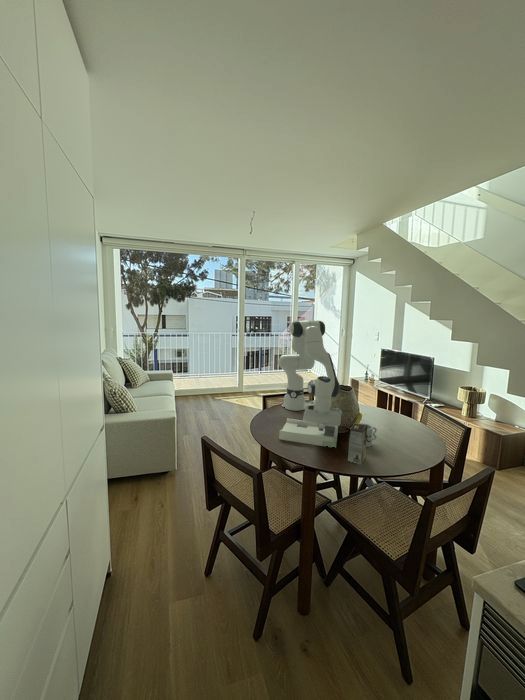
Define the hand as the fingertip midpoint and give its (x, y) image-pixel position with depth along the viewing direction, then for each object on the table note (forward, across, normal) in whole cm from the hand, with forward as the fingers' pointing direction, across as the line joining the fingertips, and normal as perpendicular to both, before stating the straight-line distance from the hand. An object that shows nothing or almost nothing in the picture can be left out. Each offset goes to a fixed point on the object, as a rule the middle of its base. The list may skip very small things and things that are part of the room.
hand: (321, 430), depth 168 cm
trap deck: (+4, +6, 0) cm, 8 cm away
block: (+1, -4, 0) cm, 5 cm away
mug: (+4, -24, -1) cm, 24 cm away
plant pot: (+4, -17, -21) cm, 27 cm away
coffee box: (+5, -19, +19) cm, 27 cm away
